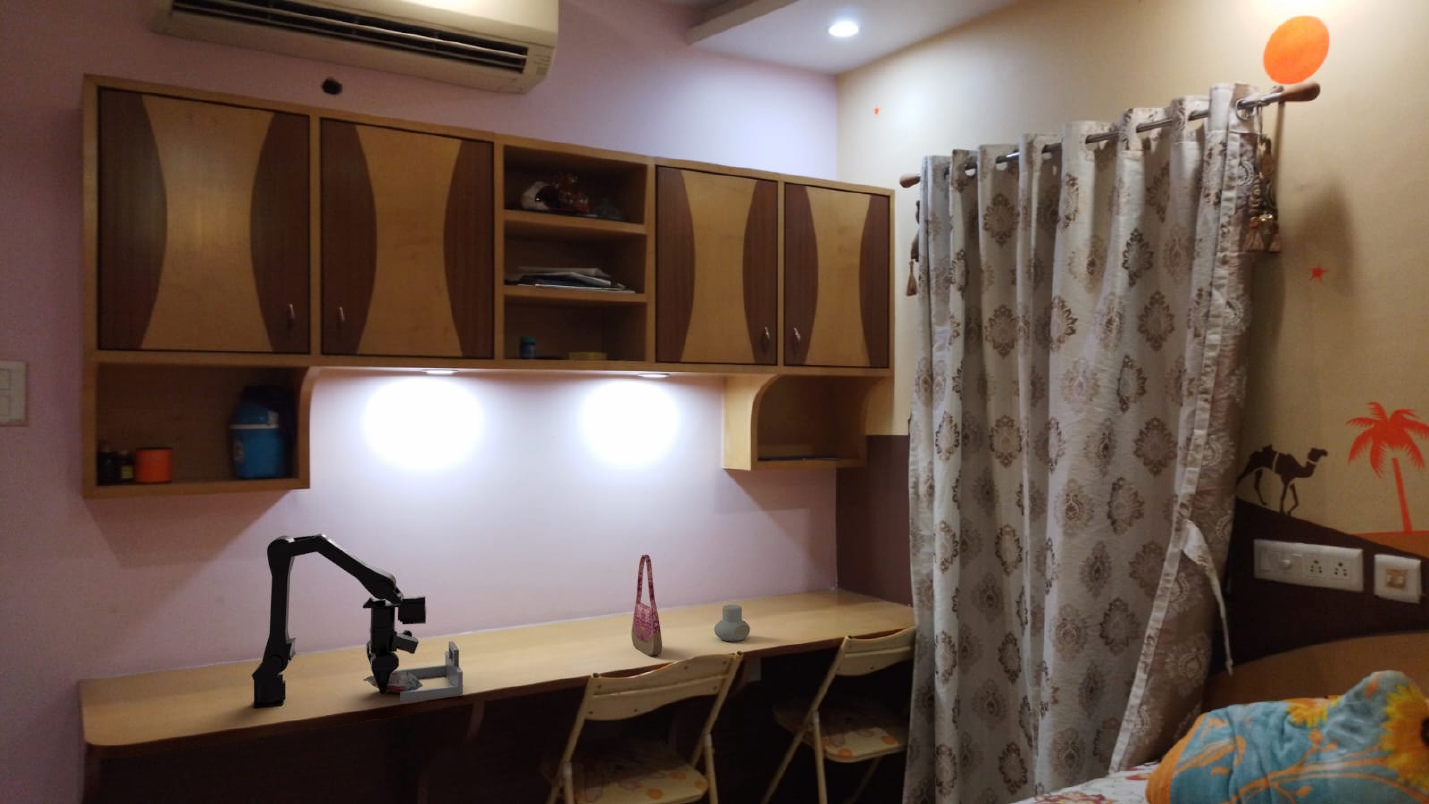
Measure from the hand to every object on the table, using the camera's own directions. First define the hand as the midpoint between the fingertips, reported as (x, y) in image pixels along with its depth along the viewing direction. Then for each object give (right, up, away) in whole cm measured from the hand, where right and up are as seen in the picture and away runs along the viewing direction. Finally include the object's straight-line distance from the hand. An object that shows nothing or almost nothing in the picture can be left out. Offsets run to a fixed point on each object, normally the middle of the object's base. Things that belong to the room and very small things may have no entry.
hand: (381, 688), depth 235 cm
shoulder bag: (+63, -2, +41) cm, 75 cm away
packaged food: (-1, -2, -2) cm, 3 cm away
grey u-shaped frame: (+9, -2, +6) cm, 11 cm away
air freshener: (+88, -2, +56) cm, 104 cm away
